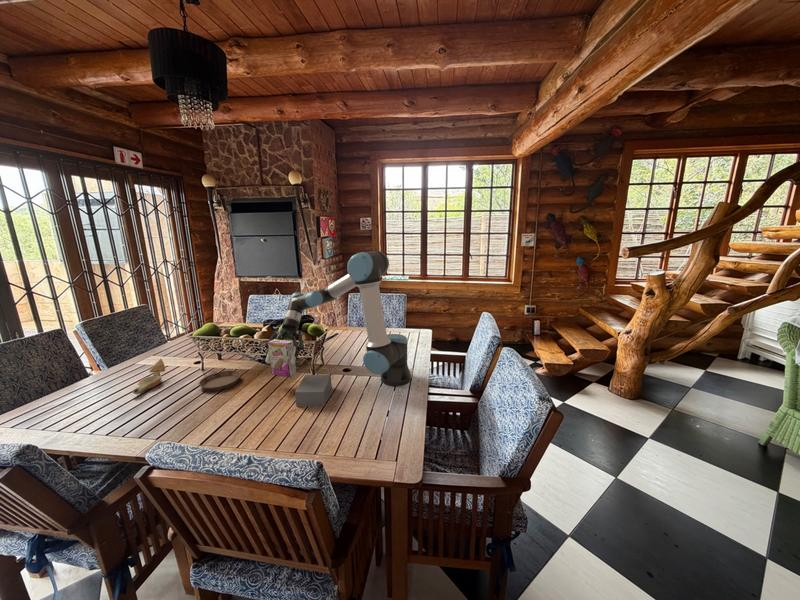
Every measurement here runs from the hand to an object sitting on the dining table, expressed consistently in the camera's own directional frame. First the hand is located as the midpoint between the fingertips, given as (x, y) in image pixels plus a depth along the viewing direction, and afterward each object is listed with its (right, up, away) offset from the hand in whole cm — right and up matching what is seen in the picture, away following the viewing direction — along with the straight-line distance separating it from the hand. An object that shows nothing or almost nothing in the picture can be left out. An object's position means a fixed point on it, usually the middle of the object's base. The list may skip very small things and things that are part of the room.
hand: (279, 362), depth 146 cm
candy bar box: (0, -6, +4) cm, 8 cm away
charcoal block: (+17, -15, -3) cm, 23 cm away
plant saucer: (-33, -13, +10) cm, 36 cm away
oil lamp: (-65, -13, +7) cm, 67 cm away
